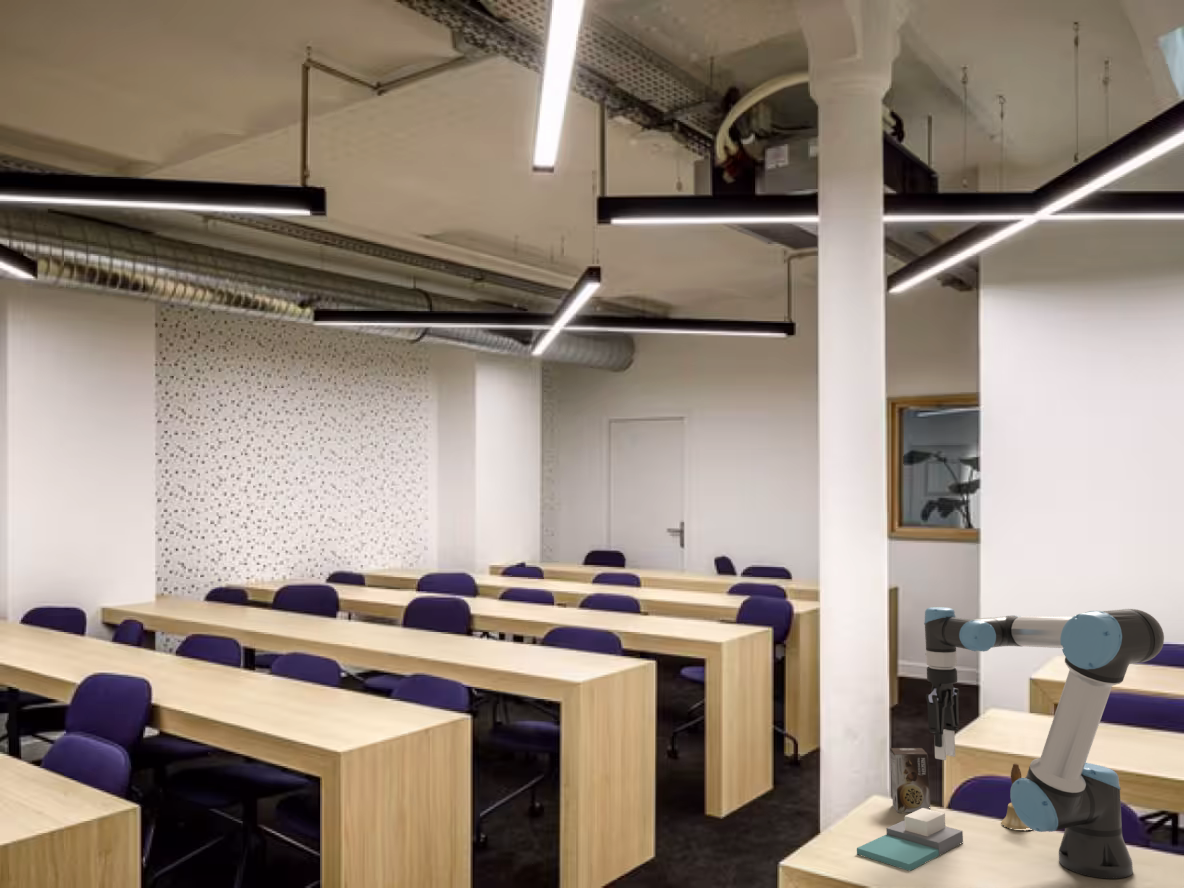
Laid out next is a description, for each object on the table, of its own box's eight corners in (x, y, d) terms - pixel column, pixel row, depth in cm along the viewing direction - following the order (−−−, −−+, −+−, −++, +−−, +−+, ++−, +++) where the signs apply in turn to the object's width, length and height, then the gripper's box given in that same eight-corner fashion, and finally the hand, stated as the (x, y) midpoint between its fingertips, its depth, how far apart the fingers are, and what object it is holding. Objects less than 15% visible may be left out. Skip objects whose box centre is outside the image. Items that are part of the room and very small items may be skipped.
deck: (963, 843, 228) (962, 830, 228) (939, 855, 220) (938, 842, 220) (911, 828, 238) (911, 817, 239) (886, 840, 230) (886, 828, 231)
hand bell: (1004, 818, 245) (1001, 758, 246) (1038, 824, 240) (1035, 762, 241) (997, 827, 238) (994, 765, 240) (1032, 833, 234) (1029, 770, 235)
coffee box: (924, 805, 256) (922, 747, 257) (931, 813, 250) (928, 753, 251) (891, 805, 257) (889, 747, 258) (897, 813, 251) (894, 753, 252)
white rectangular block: (945, 827, 230) (944, 813, 231) (927, 836, 224) (926, 821, 225) (923, 821, 235) (922, 807, 235) (905, 830, 229) (904, 816, 229)
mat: (938, 855, 220) (938, 849, 220) (909, 870, 211) (909, 864, 211) (886, 840, 230) (886, 834, 230) (856, 854, 222) (856, 847, 222)
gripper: (944, 661, 249) (947, 748, 247) (911, 669, 237) (915, 760, 236) (970, 664, 243) (974, 753, 241) (938, 672, 232) (942, 766, 230)
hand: (945, 757), depth 238 cm, fingers open, 4 cm apart
